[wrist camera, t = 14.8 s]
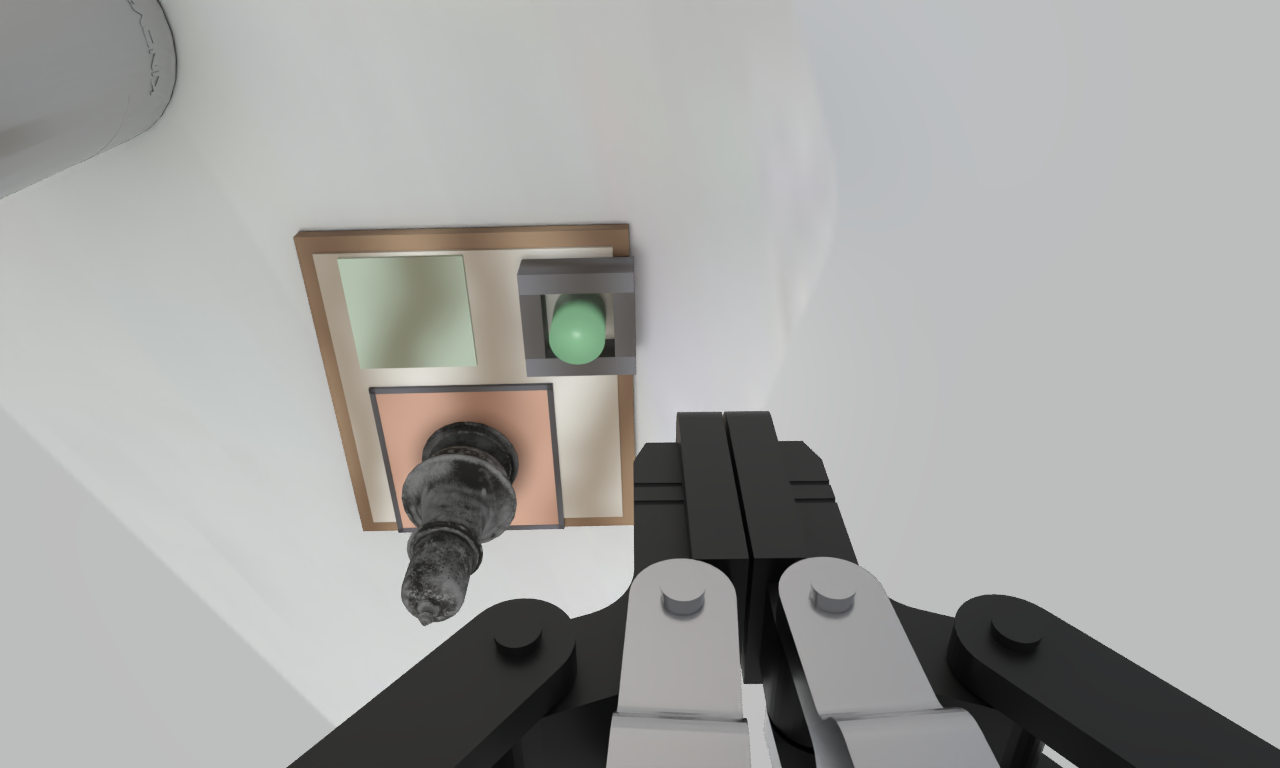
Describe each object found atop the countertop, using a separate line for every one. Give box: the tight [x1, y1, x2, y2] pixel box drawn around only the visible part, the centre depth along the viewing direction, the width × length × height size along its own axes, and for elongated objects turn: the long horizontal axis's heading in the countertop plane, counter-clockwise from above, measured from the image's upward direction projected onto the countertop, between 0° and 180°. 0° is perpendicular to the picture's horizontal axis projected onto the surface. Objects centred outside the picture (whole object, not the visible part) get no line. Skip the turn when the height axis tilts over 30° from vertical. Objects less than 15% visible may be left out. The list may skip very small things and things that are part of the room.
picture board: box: [293, 224, 636, 533], centre depth 43 cm, size 16×18×3 cm
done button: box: [549, 293, 606, 365], centre depth 40 cm, size 3×3×3 cm
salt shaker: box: [401, 422, 519, 626], centre depth 41 cm, size 6×6×12 cm
